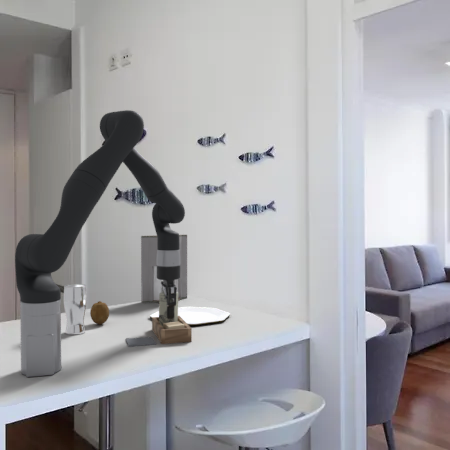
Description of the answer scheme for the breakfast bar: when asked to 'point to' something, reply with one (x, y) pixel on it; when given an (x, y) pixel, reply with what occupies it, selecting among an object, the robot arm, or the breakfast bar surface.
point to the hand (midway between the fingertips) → (168, 316)
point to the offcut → (173, 325)
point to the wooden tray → (172, 332)
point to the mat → (140, 341)
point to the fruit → (99, 313)
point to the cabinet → (149, 270)
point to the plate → (199, 315)
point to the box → (163, 310)
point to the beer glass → (75, 308)
